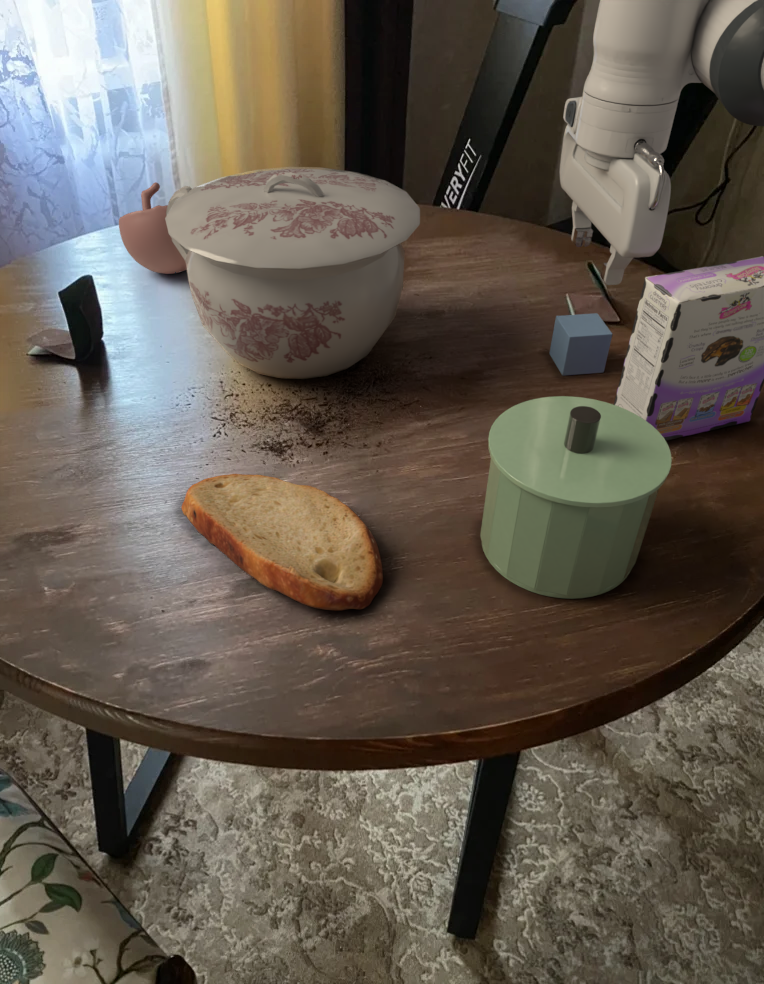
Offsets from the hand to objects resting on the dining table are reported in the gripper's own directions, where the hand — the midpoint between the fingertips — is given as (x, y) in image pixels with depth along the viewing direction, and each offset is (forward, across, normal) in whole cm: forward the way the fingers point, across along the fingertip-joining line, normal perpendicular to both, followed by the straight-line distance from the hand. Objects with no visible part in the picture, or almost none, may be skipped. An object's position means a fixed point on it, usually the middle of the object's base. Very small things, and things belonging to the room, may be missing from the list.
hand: (594, 262), depth 90 cm
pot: (+12, -30, +12) cm, 35 cm away
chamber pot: (+13, +8, +32) cm, 35 cm away
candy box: (+12, -13, -7) cm, 19 cm away
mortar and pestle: (+13, +32, +48) cm, 59 cm away
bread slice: (+13, -27, +37) cm, 47 cm away
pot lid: (+2, -30, +12) cm, 32 cm away
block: (+12, 0, 0) cm, 12 cm away
